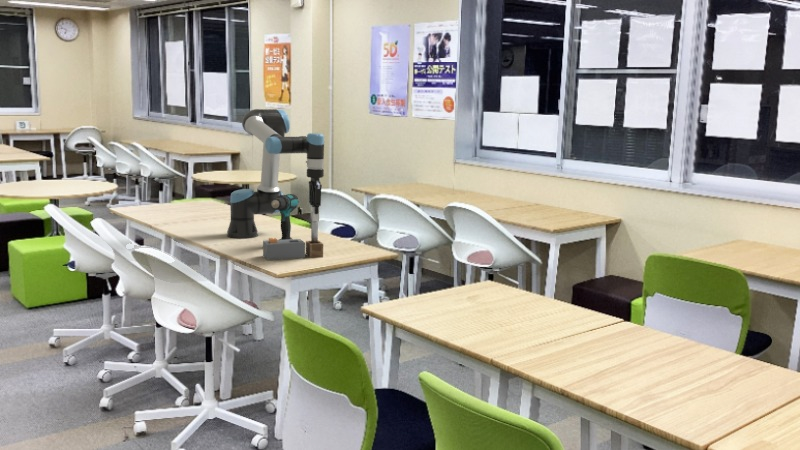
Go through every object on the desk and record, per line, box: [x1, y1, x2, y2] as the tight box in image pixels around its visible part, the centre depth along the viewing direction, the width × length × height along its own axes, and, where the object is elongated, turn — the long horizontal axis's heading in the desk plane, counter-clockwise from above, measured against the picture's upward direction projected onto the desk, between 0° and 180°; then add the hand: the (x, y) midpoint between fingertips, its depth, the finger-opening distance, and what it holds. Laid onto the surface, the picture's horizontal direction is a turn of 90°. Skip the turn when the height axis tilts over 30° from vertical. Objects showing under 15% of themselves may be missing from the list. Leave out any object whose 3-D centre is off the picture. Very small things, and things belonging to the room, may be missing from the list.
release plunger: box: [268, 237, 278, 243], centre depth 319 cm, size 3×3×8 cm
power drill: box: [270, 193, 299, 240], centre depth 341 cm, size 26×9×25 cm, turn 168°
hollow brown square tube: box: [305, 239, 324, 258], centre depth 327 cm, size 8×6×6 cm
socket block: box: [262, 238, 306, 261], centre depth 321 cm, size 9×17×7 cm, turn 112°
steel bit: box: [310, 210, 319, 244], centre depth 325 cm, size 3×3×18 cm
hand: (314, 220), depth 324 cm, fingers closed on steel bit, 3 cm apart
